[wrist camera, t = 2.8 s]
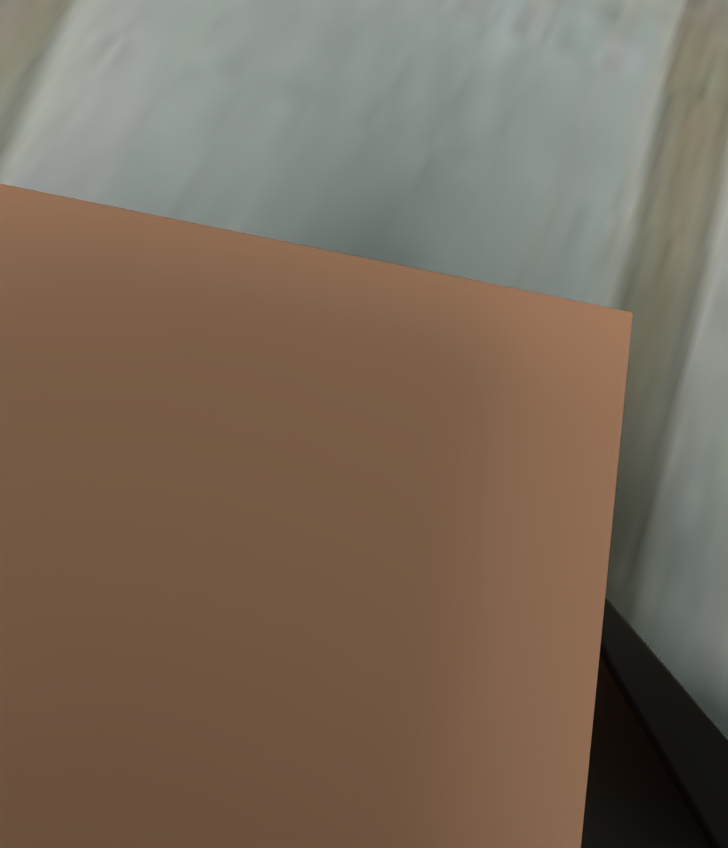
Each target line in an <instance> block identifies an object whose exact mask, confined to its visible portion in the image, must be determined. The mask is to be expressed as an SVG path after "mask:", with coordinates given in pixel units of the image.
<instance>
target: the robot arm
mask: <svg viewBox="0 0 728 848" xmlns="http://www.w3.org/2000/svg"><path fill="white" fill-rule="evenodd" d="M581 848H728V739H727V738H726V736H725V735H724V734H723V733H722V732H721V731H720V730H719V728H718V727H717V726H716V725H715V724H714V723H713V721H712V720H711V719H710V718H709V717H708V716H707V714H706V713H705V712H704V711H703V710H702V709H701V707H700V706H699V705H698V704H697V703H696V702H695V700H694V699H693V698H692V697H691V696H690V695H689V693H688V692H687V691H686V690H685V689H684V688H683V686H682V685H681V684H680V683H679V682H678V681H677V679H676V678H675V677H674V676H673V675H672V674H671V672H670V671H669V670H668V669H667V668H666V667H665V665H664V664H663V663H662V662H661V661H660V660H659V658H658V657H657V656H656V655H655V654H654V653H653V651H652V650H651V649H650V648H649V647H648V646H647V644H646V643H645V642H644V641H643V640H642V639H641V637H640V636H639V635H638V634H637V633H636V632H635V630H634V629H633V628H632V627H631V626H630V625H629V624H628V622H627V621H626V620H625V619H624V618H623V617H622V615H621V614H620V613H619V612H618V611H617V610H616V608H615V607H614V606H613V605H612V604H611V603H610V601H609V600H608V599H607V598H606V597H605V604H604V614H603V624H602V635H601V645H600V655H599V666H598V676H597V686H596V696H595V707H594V717H593V727H592V737H591V748H590V758H589V768H588V779H587V789H586V799H585V809H584V820H583V830H582V840H581Z"/></svg>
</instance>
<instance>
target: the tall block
mask: <svg viewBox="0 0 728 848" xmlns="http://www.w3.org/2000/svg"><path fill="white" fill-rule="evenodd" d="M632 316H633V312H628V311H623V310H618V309H613V308H608V307H603V306H598V305H593V304H589V303H584V302H579V301H574V300H569V299H564V298H559V297H554V296H549V295H544V294H539V293H534V292H530V291H525V290H520V289H515V288H510V287H505V286H500V285H495V284H490V283H485V282H480V281H476V280H471V279H466V278H461V277H456V276H451V275H446V274H441V273H436V272H431V271H426V270H422V269H417V268H412V267H407V266H402V265H397V264H392V263H387V262H382V261H377V260H372V259H368V258H363V257H358V256H353V255H348V254H343V253H338V252H333V251H328V250H323V249H318V248H313V247H309V246H304V245H299V244H294V243H289V242H284V241H279V240H274V239H269V238H264V237H259V236H255V235H250V234H245V233H240V232H235V231H230V230H225V229H220V228H215V227H210V226H205V225H201V224H196V223H191V222H186V221H181V220H176V219H171V218H166V217H161V216H156V215H151V214H147V213H142V212H137V211H132V210H127V209H122V208H117V207H112V206H107V205H102V204H97V203H93V202H88V201H83V200H78V199H73V198H68V197H63V196H58V195H53V194H48V193H43V192H38V191H34V190H29V189H24V188H19V187H14V186H9V185H4V184H0V848H581V840H582V830H583V820H584V809H585V799H586V789H587V779H588V768H589V758H590V748H591V737H592V727H593V717H594V707H595V696H596V686H597V676H598V666H599V655H600V645H601V635H602V624H603V614H604V604H605V594H606V583H607V573H608V563H609V553H610V542H611V532H612V522H613V511H614V501H615V491H616V481H617V470H618V460H619V450H620V440H621V429H622V419H623V409H624V398H625V388H626V378H627V368H628V357H629V347H630V337H631V327H632Z"/></svg>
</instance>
